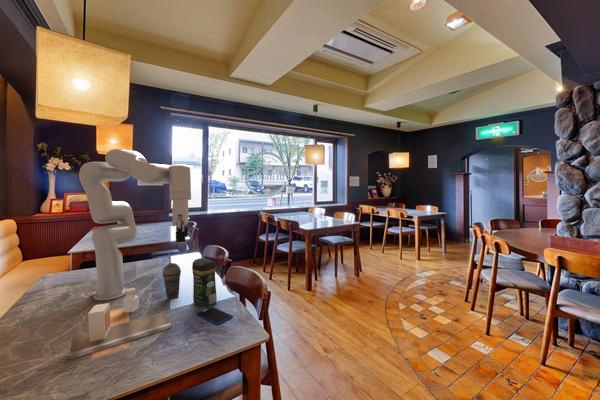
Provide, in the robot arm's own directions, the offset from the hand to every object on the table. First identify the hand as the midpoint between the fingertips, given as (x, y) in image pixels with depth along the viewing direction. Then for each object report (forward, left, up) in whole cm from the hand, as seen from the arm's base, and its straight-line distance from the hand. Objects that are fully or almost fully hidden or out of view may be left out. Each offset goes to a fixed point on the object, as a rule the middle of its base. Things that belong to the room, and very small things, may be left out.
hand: (182, 239), depth 103 cm
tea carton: (-15, -23, -27) cm, 38 cm away
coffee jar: (+6, +6, -28) cm, 30 cm away
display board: (-9, -20, -28) cm, 36 cm away
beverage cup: (-10, +8, -28) cm, 31 cm away
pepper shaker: (-18, -6, -28) cm, 34 cm away
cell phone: (+15, -4, -29) cm, 33 cm away
